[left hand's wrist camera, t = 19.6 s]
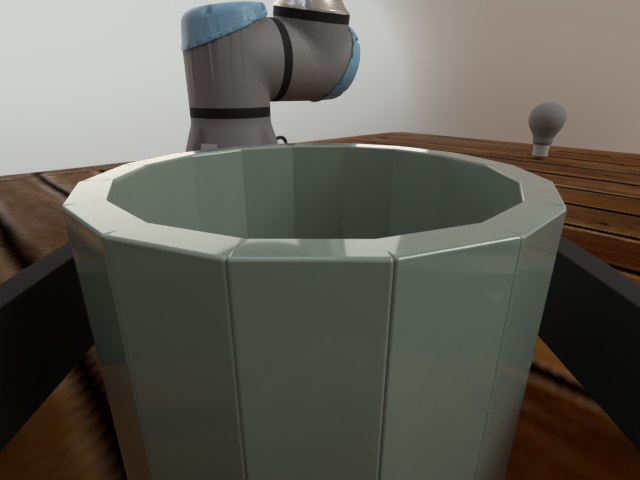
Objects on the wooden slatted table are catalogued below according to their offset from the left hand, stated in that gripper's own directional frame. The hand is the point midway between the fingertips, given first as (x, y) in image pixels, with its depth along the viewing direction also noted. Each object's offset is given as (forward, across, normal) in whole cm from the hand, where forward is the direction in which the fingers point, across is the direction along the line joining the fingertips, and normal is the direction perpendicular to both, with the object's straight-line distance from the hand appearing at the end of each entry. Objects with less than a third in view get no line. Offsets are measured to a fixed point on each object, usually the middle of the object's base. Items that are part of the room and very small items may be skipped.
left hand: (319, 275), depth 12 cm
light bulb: (+65, +42, -7) cm, 77 cm away
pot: (-2, 0, -7) cm, 8 cm away
